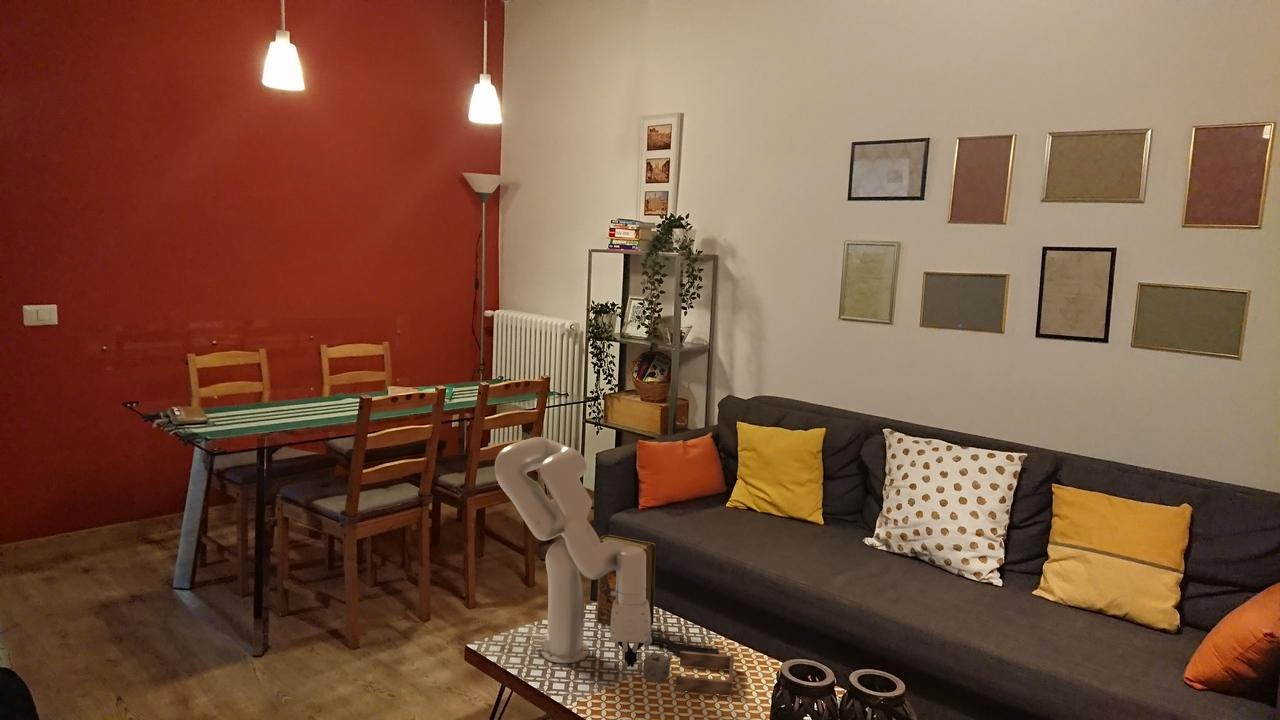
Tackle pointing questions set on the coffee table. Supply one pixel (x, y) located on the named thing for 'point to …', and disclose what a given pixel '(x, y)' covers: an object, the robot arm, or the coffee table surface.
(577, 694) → the coffee table surface
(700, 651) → the hairbrush
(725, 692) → the box
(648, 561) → the book
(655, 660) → the dice cube
